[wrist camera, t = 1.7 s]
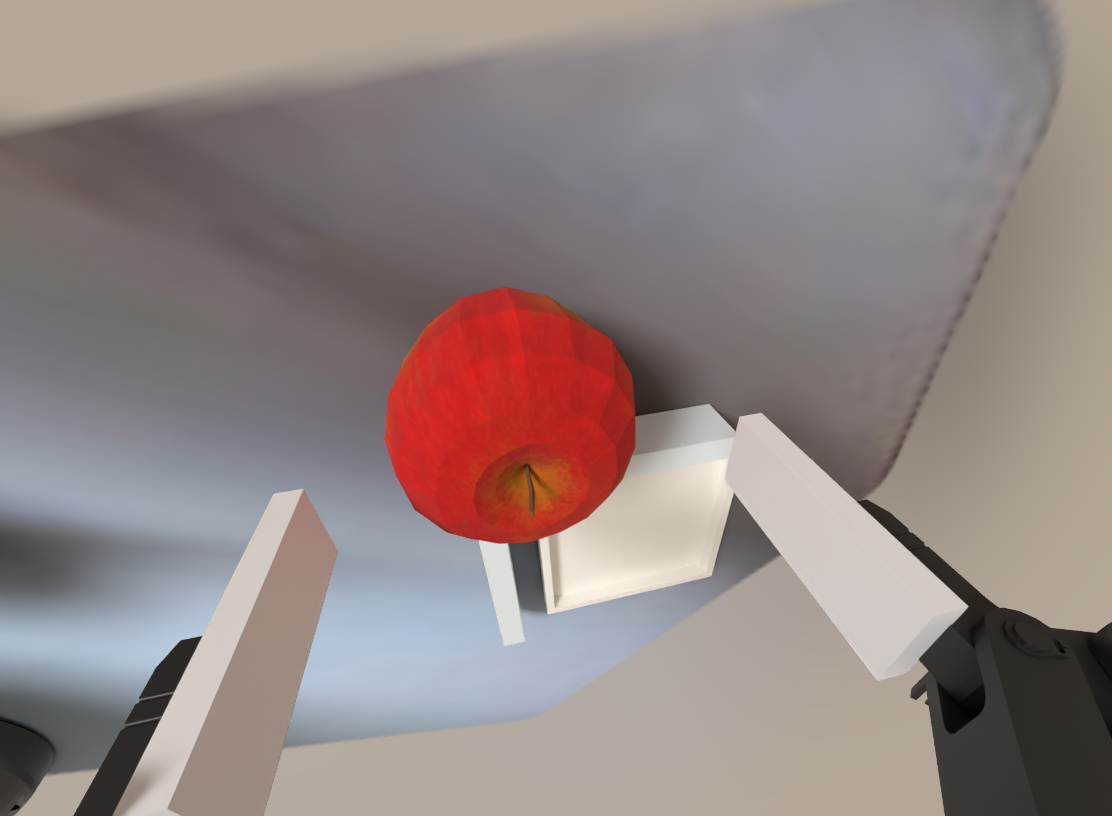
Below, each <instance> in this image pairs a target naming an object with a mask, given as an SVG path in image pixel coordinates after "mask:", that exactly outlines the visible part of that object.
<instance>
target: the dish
mask: <svg viewBox="0 0 1112 816" xmlns="http://www.w3.org/2000/svg"><path fill="white" fill-rule="evenodd" d="M728 461H729V458H727V459H722V460H716V461H711V462H706V463H701V464H696V465H690V466H685V467H680V468H675V469H670V470H664V471H659V472H654V473H649V474H643V475H638V476H633V477H628V478H623V480H622V481H621V482H620V484H619V485H618V486H617V487H616V488H615V490H614V491H613V492H612V493H611V495H610V496H609V497H608V498H607V499H606V500H605V501H604V502H603V503H602V504H601V505H600V506H599V507H598V508H597V509H596V510H595V511H594V512H593V513H592V514H591V515H590V516H589V517H588V518H586V519H584V520H582V521H581V522H579V523H577V524H575V525H573V526H571V527H569V528H568V529H566V530H564V531H562V532H560V533H557V534H554V535H551V536H548V537H545V538H542V539H539V540H538V548H539V557H540V566H541V574H542V583H543V592H544V598H545V603H546V607H547V612H548V614H552V613H556V612H561V611H565V610H569V609H573V608H578V607H582V606H586V605H590V604H595V603H599V602H603V601H607V600H612V599H616V598H620V597H624V596H629V595H633V594H637V593H641V592H646V591H650V590H654V589H658V588H663V587H667V586H671V585H675V584H680V583H684V582H688V581H693V580H697V579H701V578H705V577H710V576H711V575H712V571H713V568H714V564H715V560H716V557H717V553H718V549H719V546H720V542H721V538H722V534H723V531H724V527H725V523H726V520H727V516H728V512H729V509H730V505H731V501H732V498H733V494H734V492H733V491H732V489H731V488H730V487H729V485H728V484H727V483H726V481H725V480H724V477H725V473H726V469H727V465H728Z"/></svg>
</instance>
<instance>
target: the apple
mask: <svg viewBox="0 0 1112 816" xmlns="http://www.w3.org/2000/svg"><path fill="white" fill-rule="evenodd" d="M384 440H385V443H386V446H387V449H388V452H389V455H390V458H391V461H392V465H393V468H394V471H395V474H396V477H397V478H398V480H399V482H400V484H401V486H402V487H403V489H404V491H405V493H406V495H407V496H408V498H409V500H410V502H411V504H412V505H413V507H414V509H415V510H416V511H417V512H419V513H420V514H422V515H423V516H425V517H426V518H427V519H429V520H430V521H432V522H433V523H434V524H436V525H437V526H439V527H440V528H441V529H443V530H444V531H446V532H448V533H451V534H455V535H459V536H462V537H466V538H470V539H475V540H481V541H486V542H492V543H497V544H506V543H527V542H533V541H536V540H539V539H542V538H545V537H548V536H551V535H554V534H557V533H560V532H562V531H564V530H566V529H568V528H569V527H571V526H573V525H575V524H577V523H579V522H581V521H582V520H584V519H586V518H588V517H589V516H590V515H591V514H592V513H593V512H594V511H595V510H596V509H597V508H598V507H599V506H600V505H601V504H602V503H603V502H604V501H605V500H606V499H607V498H608V497H609V496H610V495H611V493H612V492H613V491H614V490H615V488H616V487H617V486H618V485H619V484H620V482H621V481H622V480H623V478H624V475H625V472H626V470H627V467H628V465H629V462H630V460H631V457H632V454H633V452H634V449H635V447H636V423H635V403H634V391H633V379H632V375H631V373H630V372H629V370H628V368H627V366H626V364H625V363H624V361H623V359H622V357H621V356H620V354H619V352H618V350H617V349H616V347H615V345H614V343H613V342H612V340H611V339H610V338H609V337H607V336H606V335H604V334H603V333H601V332H600V331H599V330H597V329H596V328H594V327H593V326H591V325H590V324H589V323H587V322H586V321H584V320H583V319H582V318H580V317H579V316H577V315H576V314H574V313H573V312H571V311H570V310H568V309H567V308H565V307H564V306H562V305H561V304H559V303H558V302H556V301H555V300H553V299H552V298H550V297H549V296H545V295H540V294H536V293H531V292H527V291H522V290H518V289H513V288H509V287H503V288H499V289H495V290H491V291H487V292H483V293H479V294H475V295H471V296H467V297H463V298H460V299H459V300H458V301H457V302H455V303H454V304H453V305H452V306H450V307H449V308H448V309H447V310H445V311H444V312H443V313H442V314H440V315H439V316H438V317H437V318H436V319H434V320H433V321H432V322H431V323H429V324H428V325H427V326H426V327H425V329H424V330H423V332H422V333H421V335H420V336H419V338H418V339H417V341H416V342H415V344H414V345H413V347H412V348H411V350H410V351H409V353H408V354H407V356H406V357H405V359H404V361H403V363H402V366H401V368H400V370H399V372H398V375H397V377H396V379H395V382H394V384H393V386H392V388H391V391H390V393H389V395H388V406H387V416H386V427H385V438H384Z"/></svg>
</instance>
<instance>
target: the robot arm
mask: <svg viewBox="0 0 1112 816" xmlns="http://www.w3.org/2000/svg"><path fill="white" fill-rule="evenodd" d="M724 480H725V481H726V483H727V484H728V485H729V487H730V488H731V489H732V491H733V492H734V493H735V494H736V496H737V497H738V498H739V500H740V501H741V502H742V504H743V505H744V506H745V508H746V509H747V510H748V512H749V513H750V514H751V516H752V517H753V518H754V519H755V521H756V522H757V523H758V525H759V526H760V527H761V529H762V530H763V531H764V533H765V534H766V535H767V537H768V538H769V539H770V540H771V542H772V543H773V544H774V546H775V547H776V548H777V550H778V551H779V552H780V554H781V555H782V556H783V557H784V559H785V560H786V561H787V563H788V564H789V565H790V567H791V568H792V569H793V571H794V572H795V573H796V575H797V576H798V577H799V579H800V580H801V581H802V583H803V584H804V585H805V586H806V588H807V589H808V590H809V592H810V593H811V594H812V596H813V597H814V598H815V600H816V601H817V602H818V603H819V605H820V606H821V607H822V609H823V610H824V611H825V613H826V614H827V615H828V617H829V618H830V619H831V621H832V622H833V623H834V625H835V626H836V627H837V628H838V630H839V631H840V632H841V634H842V635H843V636H844V638H845V639H846V640H847V642H848V643H849V644H850V646H851V647H852V648H853V649H854V651H855V652H856V653H857V655H858V656H859V657H860V658H861V660H862V661H863V663H864V664H865V665H866V667H867V668H868V669H869V671H870V672H871V673H872V674H873V676H874V677H875V678H876V680H877V681H879V680H883V679H886V678H890V677H894V676H897V675H901V674H905V673H907V672H908V671H909V670H910V669H911V668H912V667H913V666H914V665H915V664H916V663H917V661H918V660H920V662H922V664H923V665H924V666H925V667H926V668H927V669H928V671H929V672H928V673H927V674H926V675H925V676H924V677H923V678H922V679H921V680H920V681H919V682H918V683H917V684H916V685H915V686H914V687H913V688H912V689H911V696H910V697H911V698H913V699H915V700H917V699H918V698H919V697H920V696H921V695H922V694H923V693H924V692H925V691H926V690H927V697H928V699H927V700H926V702H925V704H927V705H929V710H930V717H931V724H932V731H933V738H934V745H935V751H936V758H937V765H938V772H939V778H940V785H941V792H942V798H943V805H944V812H945V816H1112V622H1111V623H1109V624H1108V625H1106V626H1105V627H1104V628H1102V629H1101V630H1100V631H1098V632H1097V633H1092V632H1083V631H1074V630H1065V629H1055V628H1050V627H1048V626H1047V625H1045V624H1044V623H1042V622H1041V621H1039V620H1037V619H1036V618H1034V617H1031V616H1029V615H1027V614H1025V613H1022V612H1020V611H1016V610H1012V609H1007V608H999V607H997V606H996V605H994V604H993V603H992V602H990V601H989V600H988V599H987V598H985V597H984V596H983V595H982V594H981V593H980V592H979V591H978V590H976V589H975V588H974V587H973V586H972V585H971V584H970V583H969V582H967V581H966V580H965V579H964V578H963V577H962V576H961V575H960V574H958V573H957V572H956V571H955V570H954V569H953V568H952V567H951V566H949V565H948V564H947V563H946V562H945V561H944V560H943V559H942V558H940V557H939V556H938V555H937V554H936V553H935V552H934V551H932V550H931V549H930V548H929V547H926V546H925V545H924V542H922V541H921V540H920V539H919V538H918V537H917V536H916V535H915V534H913V533H910V532H909V530H908V528H907V527H906V526H904V525H903V524H902V523H901V522H900V521H899V520H898V519H896V518H895V517H894V516H893V515H892V514H891V513H889V512H888V511H886V510H884V509H883V508H881V507H879V506H877V505H875V504H874V503H872V502H870V501H869V500H862V501H857V502H856V501H855V500H854V499H853V498H852V497H851V496H850V495H849V494H848V493H847V492H845V491H844V490H843V489H842V488H841V487H840V486H839V485H838V484H837V483H836V482H835V481H834V480H833V479H832V478H830V477H829V476H828V475H827V474H826V473H825V472H824V471H823V470H822V469H821V468H820V467H819V466H818V465H817V464H815V463H814V462H813V461H812V460H811V459H810V458H809V457H808V456H807V455H806V454H805V453H804V452H803V451H802V450H801V449H799V448H798V447H797V446H796V445H795V444H794V443H793V442H792V441H791V440H790V439H789V438H788V437H787V436H786V435H784V434H783V433H782V432H781V431H780V430H779V429H778V428H777V427H776V426H775V425H774V424H773V423H772V422H771V421H769V420H768V419H767V418H766V417H765V416H764V415H763V414H762V413H759V414H753V415H747V416H741V417H739V421H738V425H737V429H736V433H735V437H734V441H733V445H732V449H731V453H730V457H729V461H728V465H727V469H726V473H725V477H724ZM337 553H338V550H337V549H336V547H335V545H334V543H333V541H332V540H331V538H330V536H329V534H328V532H327V531H326V529H325V527H324V525H323V523H322V522H321V520H320V518H319V516H318V514H317V513H316V511H315V509H314V507H313V505H312V504H311V502H310V500H309V498H308V496H307V495H306V493H305V491H304V489H300V490H294V491H288V492H282V493H276V494H273V496H272V498H271V500H270V502H269V504H268V506H267V508H266V510H265V512H264V514H263V516H262V518H261V520H260V522H259V524H258V526H257V528H256V530H255V532H254V534H253V536H252V538H251V540H250V542H249V544H248V546H247V548H246V550H245V552H244V554H243V556H242V558H241V560H240V562H239V564H238V566H237V568H236V570H235V572H234V574H233V576H232V578H231V580H230V582H229V584H228V586H227V588H226V590H225V592H224V594H223V596H222V598H221V600H220V602H219V604H218V606H217V608H216V610H215V612H214V614H213V616H212V618H211V620H210V622H209V624H208V626H207V628H206V630H205V632H204V634H203V636H200V637H195V638H190V639H186V640H181V641H180V642H179V643H178V644H177V645H176V646H175V647H174V648H173V650H172V651H171V652H170V653H169V654H168V655H167V656H166V657H165V658H164V660H163V661H162V662H161V663H160V664H159V665H158V666H157V667H156V669H155V670H154V672H153V674H152V676H151V678H150V679H149V681H148V683H147V685H146V687H145V688H144V690H143V692H142V694H141V696H140V697H139V699H140V701H139V703H138V704H135V706H134V708H133V710H132V712H131V713H130V715H129V717H128V719H127V721H126V722H125V724H126V726H125V728H124V729H123V730H121V731H120V733H119V735H118V737H117V739H116V740H115V742H114V744H113V746H112V747H111V749H110V751H109V753H108V755H107V756H106V758H105V760H104V762H103V764H102V765H101V767H100V769H99V771H98V773H97V774H96V776H95V778H94V780H93V782H92V783H91V785H90V787H89V789H88V790H87V792H86V794H85V796H84V798H83V800H82V801H81V803H80V805H79V807H78V808H77V810H76V812H75V814H74V816H263V815H264V812H265V808H266V805H267V801H268V797H269V794H270V791H271V787H272V783H273V780H274V776H275V773H276V769H277V766H278V762H279V759H280V755H281V751H282V748H283V745H284V741H285V738H286V734H287V730H288V727H289V723H290V720H291V716H292V713H293V709H294V706H295V702H296V698H297V695H298V691H299V688H300V684H301V681H302V677H303V674H304V670H305V666H306V663H307V659H308V656H309V652H310V649H311V645H312V642H313V638H314V635H315V631H316V627H317V624H318V620H319V617H320V613H321V610H322V606H323V603H324V599H325V595H326V592H327V588H328V585H329V581H330V578H331V574H332V571H333V567H334V564H335V560H336V556H337ZM53 760H54V752H53V750H52V748H51V746H50V745H49V744H48V743H47V742H46V741H45V740H44V739H42V738H41V737H39V736H38V735H36V734H34V733H32V732H30V731H28V730H26V729H23V728H21V727H18V726H15V725H12V724H9V723H6V722H2V721H0V816H14V815H15V814H16V813H17V812H18V811H19V810H20V809H21V808H22V807H23V806H24V805H25V804H26V803H27V801H28V800H29V799H30V798H31V796H32V795H33V793H34V792H35V790H36V788H37V787H38V785H39V784H40V782H41V781H42V779H43V777H44V776H45V774H46V773H47V771H48V770H49V768H50V766H51V765H52V763H53Z"/></svg>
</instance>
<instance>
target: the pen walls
mask: <svg viewBox="0 0 1112 816" xmlns="http://www.w3.org/2000/svg"><path fill="white" fill-rule="evenodd" d="M635 423H636V447H635V449H634V452H633V454H632V457H631V460H630V462H629V465H628V467H627V470H626V472H625V475H624V478H628V477H633V476H638V475H643V474H649V473H654V472H659V471H664V470H670V469H675V468H680V467H685V466H690V465H696V464H701V463H706V462H711V461H716V460H722V459H727V458H729V457H730V453H731V449H732V445H733V441H734V437H735V433H736V432H735V430H734V429H733V428H732V427H731V426H730V425H729V424H728V423H727V422H726V421H725V420H724V419H723V418H722V417H721V416H720V415H719V414H718V413H717V412H716V411H715V409H714V408H713V407H712V406H711V405H710V404H706V405H700V406H694V407H688V408H682V409H676V410H671V411H665V412H659V413H653V414H647V415H641V416H635ZM479 544H480V548H481V552H482V556H483V560H484V565H485V569H486V573H487V577H488V581H489V585H490V590H491V594H492V598H493V602H494V606H495V610H496V615H497V619H498V623H499V627H500V631H501V635H502V640H503V644H504V646H508V645H512V644H516V643H520V642H525V637H524V631H523V624H522V617H521V610H520V604H519V597H518V592H517V586H516V580H515V575H514V569H513V563H512V558H511V552H510V546H509V543H506V544H497V543H492V542H486V541H481V540H479Z"/></svg>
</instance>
